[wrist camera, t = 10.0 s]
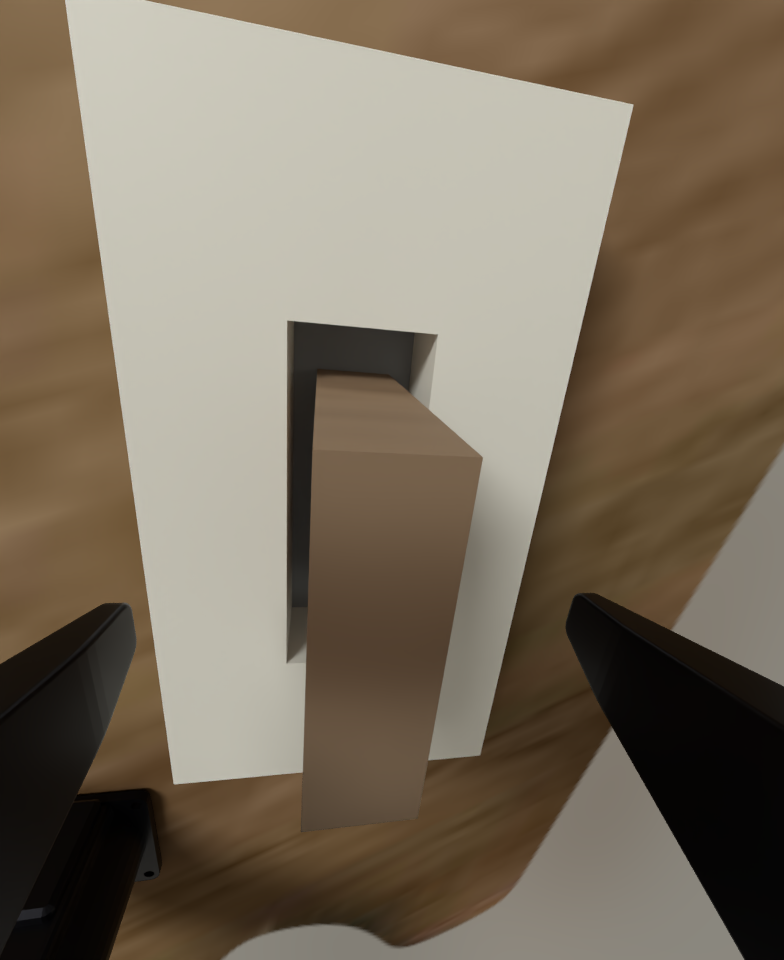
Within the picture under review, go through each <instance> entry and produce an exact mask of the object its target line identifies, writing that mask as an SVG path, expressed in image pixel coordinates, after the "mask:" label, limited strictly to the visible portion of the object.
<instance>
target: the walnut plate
mask: <svg viewBox="0 0 784 960" xmlns="http://www.w3.org/2000/svg"><path fill="white" fill-rule="evenodd" d="M482 461H483V457H482V456H481V455H480V454H479V453H478V452H476V451H475V450H474V449H473V448H472V447H471V446H470V445H468V444H467V443H466V442H465V441H464V440H463V439H462V438H461V437H459V436H458V435H457V434H456V433H455V432H454V431H453V430H451V429H450V428H449V427H448V426H447V425H446V424H445V423H443V422H442V421H441V420H440V419H439V418H438V417H437V416H436V415H434V414H433V413H432V412H431V411H430V410H429V409H428V408H426V407H425V406H424V405H423V404H422V403H421V402H420V401H418V400H417V399H416V398H415V397H414V396H413V395H412V394H411V393H409V392H408V391H407V390H406V389H405V388H404V387H403V386H401V385H400V384H399V383H398V382H397V381H396V380H395V379H394V378H392V377H391V376H390V375H389V374H377V373H365V372H352V371H339V370H327V369H317V383H316V399H315V416H314V433H313V450H312V483H311V516H310V549H309V582H308V615H307V649H306V682H305V715H304V748H303V781H302V814H301V832H307V831H315V830H324V829H333V828H341V827H350V826H358V825H367V824H376V823H384V822H393V821H401V820H410V819H418V813H419V808H420V802H421V797H422V791H423V786H424V780H425V775H426V769H427V764H428V758H429V753H430V747H431V742H432V736H433V731H434V725H435V720H436V714H437V709H438V703H439V698H440V692H441V687H442V681H443V676H444V670H445V665H446V659H447V654H448V648H449V643H450V637H451V631H452V626H453V620H454V615H455V609H456V604H457V598H458V593H459V587H460V582H461V576H462V571H463V565H464V560H465V554H466V549H467V543H468V538H469V532H470V527H471V521H472V516H473V510H474V505H475V499H476V494H477V488H478V483H479V477H480V472H481V466H482Z"/></svg>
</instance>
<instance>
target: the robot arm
mask: <svg viewBox="0 0 784 960" xmlns="http://www.w3.org/2000/svg"><path fill="white" fill-rule="evenodd" d="M566 632H567V636H568V638H569V640H570V642H571V645H572V647H573V649H574V651H575V653H576V656H577V658H578V660H579V662H580V664H581V667H582V669H583V671H584V673H585V675H586V678H587V680H588V682H589V684H590V686H591V689H592V691H593V693H594V695H595V697H596V699H597V701H598V703H599V705H600V706H601V708H602V710H603V712H604V714H605V715H606V717H607V719H608V721H609V722H610V724H611V726H612V728H613V729H614V731H615V733H616V735H617V737H618V738H619V740H620V742H621V744H622V745H623V747H624V748H625V750H626V752H627V754H628V756H629V757H630V759H631V761H632V763H633V764H634V766H635V768H636V770H637V772H638V773H639V775H640V777H641V779H642V780H643V782H644V783H645V786H646V788H647V789H648V791H649V793H650V794H651V796H652V798H653V800H654V801H655V803H656V805H657V807H658V808H659V810H660V812H661V814H662V816H663V817H664V819H665V821H666V823H667V824H668V826H669V828H670V830H671V831H672V833H673V835H674V837H675V838H676V840H677V842H678V844H679V845H680V847H681V849H682V851H683V853H684V854H685V856H686V858H687V860H688V861H689V863H690V865H691V867H692V868H693V870H694V872H695V874H696V875H697V877H698V879H699V881H700V882H701V884H702V886H703V888H704V889H705V891H706V893H707V895H708V896H709V898H710V900H711V902H712V903H713V905H714V907H715V909H716V911H717V912H718V914H719V916H720V918H721V919H722V921H723V923H724V925H725V926H726V928H727V930H728V932H729V933H730V935H731V937H732V939H733V940H734V942H735V944H736V946H737V947H738V949H739V951H740V953H741V954H742V956H743V958H744V960H784V686H782V685H780V684H778V683H776V682H774V681H772V680H770V679H768V678H766V677H764V676H762V675H760V674H758V673H756V672H754V671H751V670H749V669H747V668H745V667H743V666H741V665H739V664H737V663H735V662H733V661H731V660H729V659H727V658H725V657H723V656H721V655H719V654H717V653H715V652H713V651H711V650H709V649H707V648H705V647H703V646H700V645H699V644H697V643H695V642H693V641H691V640H689V639H687V638H685V637H683V636H681V635H679V634H677V633H675V632H673V631H671V630H669V629H667V628H665V627H663V626H661V625H659V624H656V623H654V622H652V621H650V620H648V619H646V618H644V617H642V616H640V615H638V614H636V613H634V612H632V611H630V610H628V609H626V608H624V607H622V606H620V605H618V604H616V603H614V602H612V601H610V600H608V599H606V598H604V597H602V596H600V595H598V594H595V593H578V594H576V595H575V596H574V598H573V600H572V604H571V607H570V610H569V614H568V617H567V620H566ZM135 648H136V633H135V627H134V620H133V614H132V609H131V607H130V605H129V604H127V603H105V604H102V605H100V606H98V607H97V608H95V609H93V610H91V611H90V612H88V613H86V614H85V615H83V616H81V617H80V618H78V619H76V620H74V621H73V622H71V623H69V624H68V625H66V626H64V627H62V628H61V629H59V630H57V631H56V632H54V633H52V634H51V635H49V636H47V637H45V638H44V639H42V640H40V641H39V642H37V643H35V644H34V645H32V646H30V647H28V648H27V649H25V650H23V651H22V652H20V653H18V654H17V655H15V656H13V657H11V658H10V659H8V660H6V661H5V662H3V663H1V664H0V960H109V958H110V955H111V952H112V949H113V946H114V943H115V940H116V937H117V933H118V930H119V927H120V924H121V921H122V918H123V915H124V912H125V909H126V906H127V903H128V900H129V897H130V894H131V891H132V888H133V885H134V882H136V881H144V880H151V879H154V878H156V877H158V876H159V873H160V870H161V866H162V861H161V855H160V849H159V843H158V837H157V831H156V825H155V820H154V814H153V808H152V802H151V796H150V794H149V793H148V792H146V791H141V790H137V791H127V792H117V793H106V794H96V795H85V796H77V794H78V791H79V789H80V787H81V785H82V783H83V781H84V779H85V777H86V775H87V773H88V770H89V768H90V766H91V764H92V762H93V760H94V758H95V756H96V754H97V752H98V749H99V747H100V745H101V743H102V740H103V738H104V736H105V733H106V731H107V728H108V726H109V723H110V720H111V718H112V715H113V712H114V709H115V706H116V703H117V701H118V698H119V695H120V692H121V689H122V686H123V684H124V681H125V678H126V675H127V672H128V669H129V667H130V664H131V661H132V658H133V655H134V652H135Z"/></svg>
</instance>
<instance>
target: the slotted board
mask: <svg viewBox="0 0 784 960" xmlns="http://www.w3.org/2000/svg"><path fill="white" fill-rule="evenodd" d="M65 3H66V10H67V17H68V24H69V32H70V39H71V46H72V53H73V60H74V68H75V75H76V82H77V89H78V96H79V104H80V111H81V118H82V125H83V133H84V140H85V147H86V154H87V161H88V169H89V176H90V183H91V190H92V198H93V205H94V212H95V219H96V226H97V234H98V241H99V248H100V255H101V263H102V270H103V277H104V284H105V291H106V299H107V306H108V313H109V320H110V327H111V335H112V342H113V349H114V356H115V364H116V371H117V378H118V385H119V392H120V400H121V407H122V414H123V421H124V429H125V436H126V443H127V450H128V457H129V465H130V472H131V479H132V486H133V493H134V501H135V508H136V515H137V522H138V530H139V537H140V544H141V551H142V558H143V566H144V573H145V580H146V587H147V595H148V602H149V609H150V616H151V623H152V631H153V638H154V645H155V652H156V659H157V667H158V674H159V681H160V688H161V696H162V703H163V710H164V717H165V724H166V732H167V739H168V746H169V753H170V761H171V768H172V775H173V782H174V784H184V783H194V782H205V781H215V780H226V779H237V778H247V777H258V776H268V775H279V774H289V773H300V772H303V748H304V715H305V682H306V649H307V615H308V582H309V549H310V516H311V483H312V450H313V433H314V416H315V399H316V383H317V369H327V370H339V371H352V372H365V373H377V374H389V375H390V376H391V377H392V378H394V379H395V380H396V381H397V382H398V383H399V384H400V385H401V386H403V387H404V388H405V389H406V390H407V391H408V392H409V393H411V394H412V395H413V396H414V397H415V398H416V399H417V400H418V401H420V402H421V403H422V404H423V405H424V406H425V407H426V408H428V409H429V410H430V411H431V412H432V413H433V414H434V415H436V416H437V417H438V418H439V419H440V420H441V421H442V422H443V423H445V424H446V425H447V426H448V427H449V428H450V429H451V430H453V431H454V432H455V433H456V434H457V435H458V436H459V437H461V438H462V439H463V440H464V441H465V442H466V443H467V444H468V445H470V446H471V447H472V448H473V449H474V450H475V451H476V452H478V453H479V454H480V455H481V456H482V457H483V461H482V466H481V472H480V477H479V483H478V488H477V494H476V499H475V505H474V510H473V516H472V521H471V527H470V532H469V538H468V543H467V549H466V554H465V560H464V565H463V571H462V576H461V582H460V587H459V593H458V598H457V604H456V609H455V615H454V620H453V626H452V631H451V637H450V643H449V648H448V654H447V659H446V665H445V670H444V676H443V681H442V687H441V692H440V698H439V703H438V709H437V714H436V720H435V725H434V731H433V736H432V742H431V747H430V753H429V758H428V760H437V759H447V758H458V757H469V756H479V755H480V754H481V749H482V745H483V741H484V737H485V732H486V728H487V724H488V720H489V716H490V711H491V707H492V703H493V699H494V694H495V690H496V686H497V682H498V677H499V673H500V669H501V665H502V660H503V656H504V652H505V648H506V643H507V639H508V635H509V631H510V626H511V622H512V618H513V614H514V609H515V605H516V601H517V597H518V592H519V588H520V584H521V580H522V576H523V571H524V567H525V563H526V559H527V554H528V550H529V546H530V542H531V537H532V533H533V529H534V525H535V520H536V516H537V512H538V508H539V503H540V499H541V495H542V491H543V486H544V482H545V478H546V474H547V469H548V465H549V461H550V457H551V453H552V448H553V444H554V440H555V436H556V431H557V427H558V423H559V419H560V414H561V410H562V406H563V402H564V397H565V393H566V389H567V385H568V380H569V376H570V372H571V368H572V363H573V359H574V355H575V351H576V346H577V342H578V338H579V334H580V330H581V325H582V321H583V317H584V313H585V308H586V304H587V300H588V296H589V291H590V287H591V283H592V279H593V274H594V270H595V266H596V262H597V257H598V253H599V249H600V245H601V240H602V236H603V232H604V228H605V223H606V219H607V215H608V211H609V207H610V202H611V198H612V194H613V190H614V185H615V181H616V177H617V173H618V168H619V164H620V160H621V156H622V151H623V147H624V143H625V139H626V134H627V130H628V126H629V122H630V117H631V113H632V109H633V104H628V103H623V102H619V101H614V100H609V99H605V98H600V97H595V96H590V95H586V94H581V93H576V92H572V91H567V90H562V89H558V88H553V87H548V86H544V85H539V84H534V83H530V82H525V81H520V80H516V79H511V78H506V77H502V76H497V75H492V74H487V73H483V72H478V71H473V70H469V69H464V68H459V67H455V66H450V65H445V64H441V63H436V62H431V61H427V60H422V59H417V58H413V57H408V56H403V55H399V54H394V53H389V52H384V51H380V50H375V49H370V48H366V47H361V46H356V45H352V44H347V43H342V42H338V41H333V40H328V39H324V38H319V37H314V36H310V35H305V34H300V33H295V32H291V31H286V30H281V29H277V28H272V27H267V26H263V25H258V24H253V23H249V22H244V21H239V20H235V19H230V18H225V17H221V16H216V15H211V14H207V13H202V12H197V11H192V10H188V9H183V8H178V7H174V6H169V5H164V4H160V3H155V2H150V1H146V0H65Z"/></svg>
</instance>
